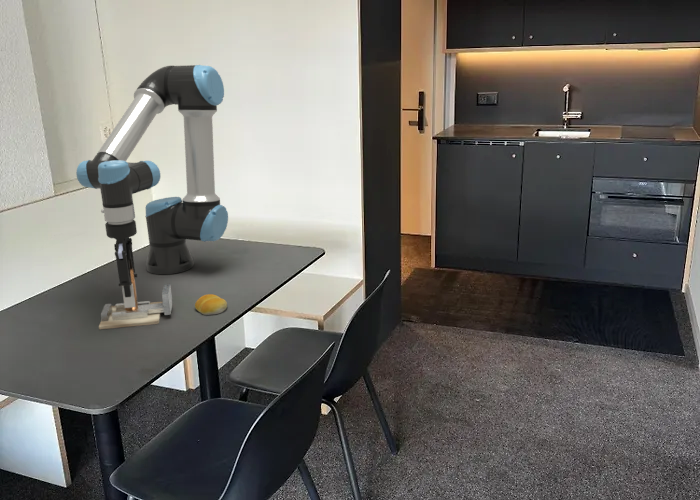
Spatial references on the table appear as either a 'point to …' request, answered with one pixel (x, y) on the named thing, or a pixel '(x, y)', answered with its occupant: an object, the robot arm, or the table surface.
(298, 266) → the table surface
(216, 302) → the bread roll
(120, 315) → the rails
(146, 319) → the board
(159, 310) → the ram
